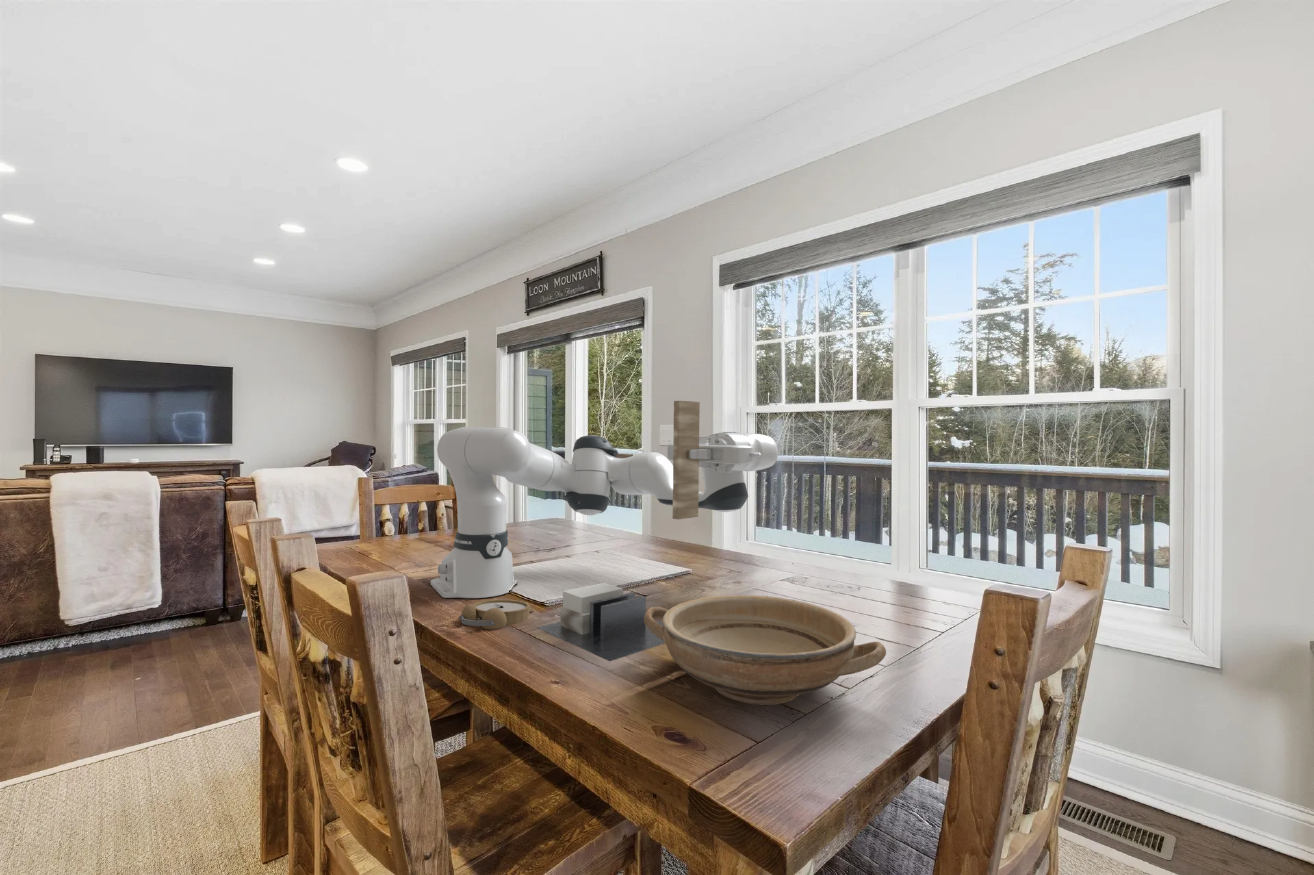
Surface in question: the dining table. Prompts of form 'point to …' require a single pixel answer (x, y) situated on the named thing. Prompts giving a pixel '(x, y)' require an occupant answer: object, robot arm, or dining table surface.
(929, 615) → the dining table surface
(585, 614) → the offcut lower
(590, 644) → the slot rack
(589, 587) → the offcut upper
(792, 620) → the ceramic bowl
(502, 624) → the alarm clock
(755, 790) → the dining table surface
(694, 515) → the birch board
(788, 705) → the dining table surface
